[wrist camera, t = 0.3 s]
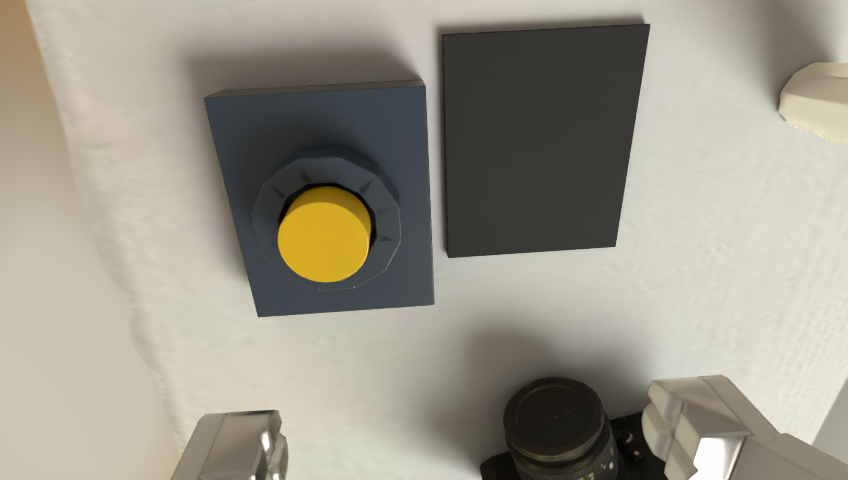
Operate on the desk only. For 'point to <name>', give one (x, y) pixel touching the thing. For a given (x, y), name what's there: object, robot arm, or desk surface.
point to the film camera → (570, 438)
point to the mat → (538, 136)
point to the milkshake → (818, 100)
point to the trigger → (325, 234)
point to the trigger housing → (329, 166)
